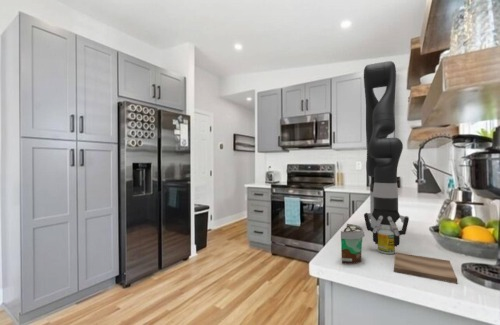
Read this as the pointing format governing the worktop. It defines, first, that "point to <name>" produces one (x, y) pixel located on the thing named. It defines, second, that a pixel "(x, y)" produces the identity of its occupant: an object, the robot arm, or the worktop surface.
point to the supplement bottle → (386, 239)
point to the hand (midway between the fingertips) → (386, 244)
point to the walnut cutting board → (424, 267)
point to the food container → (351, 244)
